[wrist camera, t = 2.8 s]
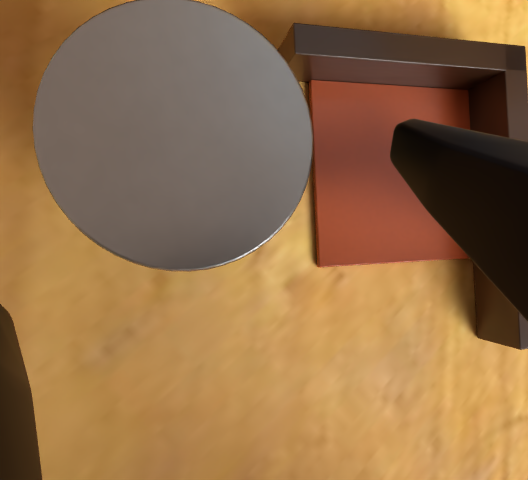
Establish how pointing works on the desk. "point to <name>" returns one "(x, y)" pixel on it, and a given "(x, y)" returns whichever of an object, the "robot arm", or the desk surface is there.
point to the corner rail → (380, 138)
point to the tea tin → (173, 134)
